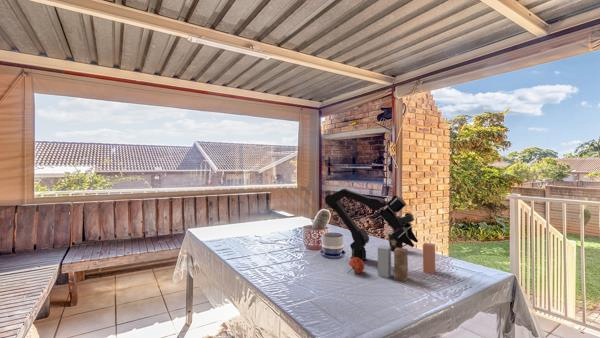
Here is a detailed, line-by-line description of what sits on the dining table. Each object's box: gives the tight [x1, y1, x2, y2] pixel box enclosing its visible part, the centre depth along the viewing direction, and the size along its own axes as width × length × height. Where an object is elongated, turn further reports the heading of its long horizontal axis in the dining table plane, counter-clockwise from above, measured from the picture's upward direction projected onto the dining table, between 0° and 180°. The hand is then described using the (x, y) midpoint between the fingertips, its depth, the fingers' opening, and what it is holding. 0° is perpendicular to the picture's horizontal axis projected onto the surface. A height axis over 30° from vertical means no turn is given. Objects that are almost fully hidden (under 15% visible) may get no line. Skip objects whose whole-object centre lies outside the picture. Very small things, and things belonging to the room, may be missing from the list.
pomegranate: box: [347, 257, 365, 275], centre depth 127 cm, size 7×7×10 cm
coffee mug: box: [387, 231, 408, 253], centre depth 160 cm, size 12×9×10 cm
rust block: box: [422, 242, 436, 275], centre depth 127 cm, size 4×4×12 cm
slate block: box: [377, 244, 392, 279], centre depth 124 cm, size 4×4×12 cm
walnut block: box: [393, 247, 409, 282], centre depth 120 cm, size 4×4×12 cm
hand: (415, 244), depth 131 cm, fingers open, 9 cm apart
